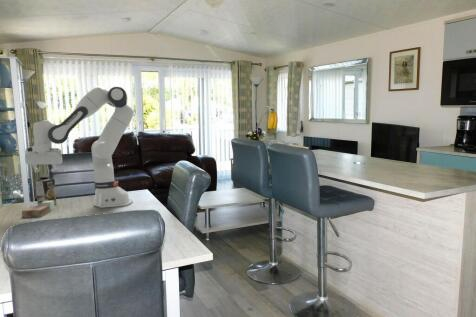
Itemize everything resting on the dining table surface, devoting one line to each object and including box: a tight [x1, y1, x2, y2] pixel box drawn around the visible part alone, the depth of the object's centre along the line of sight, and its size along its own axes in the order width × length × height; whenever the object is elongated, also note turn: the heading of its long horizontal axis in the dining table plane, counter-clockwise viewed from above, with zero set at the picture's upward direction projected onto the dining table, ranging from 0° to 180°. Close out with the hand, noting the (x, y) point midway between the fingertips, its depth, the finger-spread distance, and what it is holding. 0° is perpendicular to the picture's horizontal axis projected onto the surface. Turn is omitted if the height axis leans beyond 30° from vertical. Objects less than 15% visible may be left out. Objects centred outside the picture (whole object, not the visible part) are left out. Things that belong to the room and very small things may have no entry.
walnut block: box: [21, 205, 51, 218], centre depth 202 cm, size 10×10×4 cm
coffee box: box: [35, 178, 57, 206], centre depth 221 cm, size 9×6×16 cm
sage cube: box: [41, 200, 55, 212], centre depth 212 cm, size 5×5×5 cm
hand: (44, 172), depth 211 cm, fingers open, 8 cm apart
